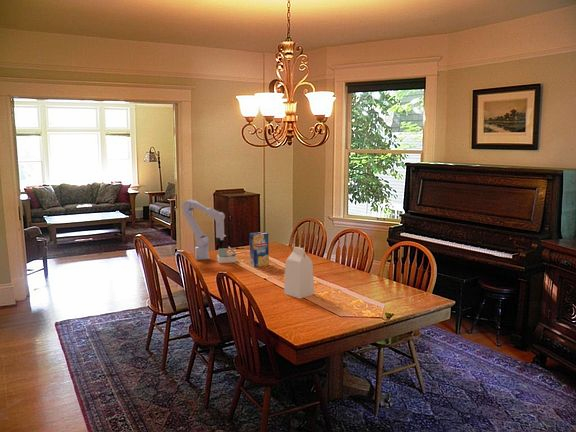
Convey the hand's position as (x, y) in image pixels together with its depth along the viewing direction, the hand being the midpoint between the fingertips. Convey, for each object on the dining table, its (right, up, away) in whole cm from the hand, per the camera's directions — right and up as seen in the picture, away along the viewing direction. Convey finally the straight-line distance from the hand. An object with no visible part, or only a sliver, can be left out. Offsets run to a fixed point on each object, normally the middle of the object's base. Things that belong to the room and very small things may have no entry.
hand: (220, 248), depth 342 cm
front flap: (+2, -3, -8) cm, 9 cm away
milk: (+54, -20, -77) cm, 97 cm away
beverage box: (+29, -11, -15) cm, 34 cm away
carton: (+5, -9, -4) cm, 11 cm away
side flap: (+8, -2, -3) cm, 9 cm away
